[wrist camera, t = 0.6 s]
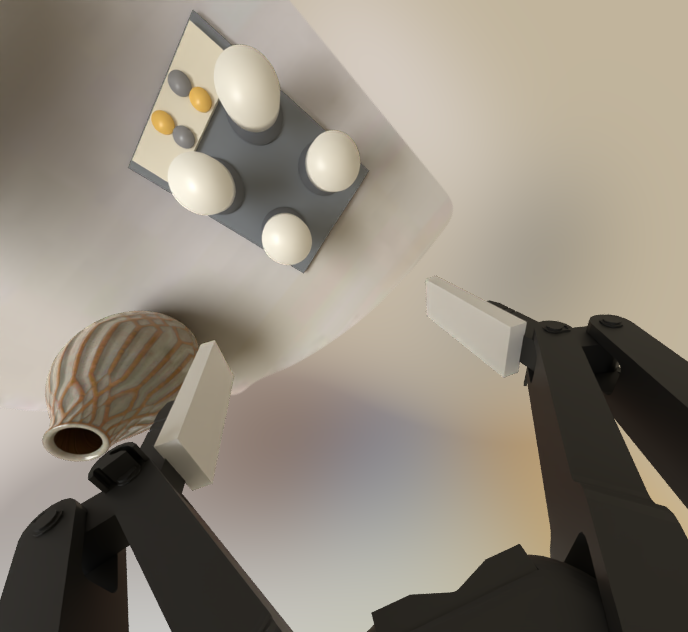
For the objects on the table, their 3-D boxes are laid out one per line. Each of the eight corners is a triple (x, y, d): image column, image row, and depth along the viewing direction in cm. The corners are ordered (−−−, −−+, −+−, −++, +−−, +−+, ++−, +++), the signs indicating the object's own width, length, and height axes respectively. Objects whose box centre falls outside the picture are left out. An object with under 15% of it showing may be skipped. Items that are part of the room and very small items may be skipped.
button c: (255, 240, 31) (252, 248, 27) (277, 202, 30) (277, 203, 26) (293, 263, 33) (295, 273, 29) (314, 228, 32) (321, 234, 28)
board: (130, 168, 28) (123, 166, 27) (194, 13, 24) (189, 3, 23) (303, 272, 37) (304, 274, 36) (367, 171, 34) (371, 170, 32)
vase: (132, 276, 32) (2, 350, 17) (228, 328, 38) (196, 417, 23) (85, 351, 35) (-65, 474, 20) (182, 389, 41) (126, 507, 25)
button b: (215, 110, 25) (202, 92, 21) (240, 56, 24) (232, 25, 20) (263, 148, 27) (261, 139, 23) (288, 100, 26) (291, 81, 22)
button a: (176, 192, 27) (157, 192, 23) (198, 146, 26) (182, 136, 22) (225, 221, 29) (216, 226, 25) (246, 180, 28) (241, 177, 24)
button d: (294, 172, 29) (297, 168, 25) (319, 128, 28) (327, 116, 23) (331, 201, 31) (340, 202, 27) (356, 161, 30) (370, 156, 26)
